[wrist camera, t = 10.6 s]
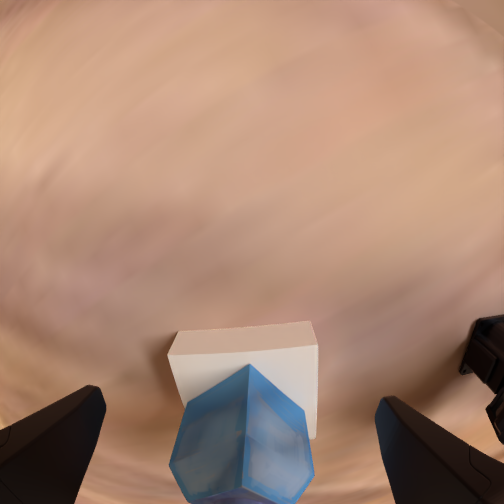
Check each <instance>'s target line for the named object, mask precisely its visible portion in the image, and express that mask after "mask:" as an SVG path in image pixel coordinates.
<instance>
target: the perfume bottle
mask: <svg viewBox="0 0 504 504" xmlns="http://www.w3.org/2000/svg"><path fill="white" fill-rule="evenodd" d="M169 467H170V469H171V471H172V473H173V475H174V477H175V479H176V481H177V483H178V485H179V487H180V489H181V491H182V493H183V495H184V496H185V498H186V500H187V502H189V503H191V504H295V503H296V502H297V500H298V499H299V498H300V496H301V495H302V493H303V492H304V490H305V489H306V488H307V486H308V485H309V483H310V482H311V480H312V479H313V477H314V476H315V475H314V468H313V461H312V455H311V448H310V442H309V435H308V429H307V423H306V416H305V411H304V410H303V409H302V408H301V407H299V406H298V405H297V404H296V403H295V402H293V401H292V400H291V399H290V398H289V397H287V396H286V395H285V394H284V393H283V392H282V391H280V390H279V389H278V388H277V387H276V386H275V385H273V384H272V383H271V382H270V381H269V380H268V379H267V378H265V377H264V376H263V375H262V374H261V373H260V372H259V371H258V370H257V369H255V368H254V367H253V366H252V365H251V364H248V365H247V366H245V367H244V368H242V369H241V370H239V371H238V372H236V373H235V374H233V375H231V376H230V377H228V378H227V379H225V380H224V381H222V382H220V383H219V384H217V385H215V386H214V387H212V388H211V389H209V390H207V391H206V392H204V393H202V394H201V395H199V396H197V397H196V398H194V399H192V400H190V401H189V402H187V405H186V408H185V412H184V415H183V418H182V422H181V425H180V428H179V432H178V435H177V438H176V442H175V445H174V449H173V452H172V455H171V459H170V462H169Z"/></svg>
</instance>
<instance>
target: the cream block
mask: <svg viewBox="0 0 504 504" xmlns="http://www.w3.org/2000/svg"><path fill="white" fill-rule="evenodd" d="M167 356H168V359H169V363H170V366H171V369H172V372H173V376H174V379H175V382H176V385H177V388H178V391H179V394H180V397H181V400H182V403H183V406H184V409H185V408H186V405H187V402H189V401H190V400H192V399H194V398H196V397H197V396H199V395H201V394H202V393H204V392H206V391H207V390H209V389H211V388H212V387H214V386H215V385H217V384H219V383H220V382H222V381H224V380H225V379H227V378H228V377H230V376H231V375H233V374H235V373H236V372H238V371H239V370H241V369H242V368H244V367H245V366H247V365H248V364H251V365H252V366H253V367H254V368H255V369H257V370H258V371H259V372H260V373H261V374H262V375H263V376H264V377H265V378H267V379H268V380H269V381H270V382H271V383H272V384H273V385H275V386H276V387H277V388H278V389H279V390H280V391H282V392H283V393H284V394H285V395H286V396H287V397H289V398H290V399H291V400H292V401H293V402H295V403H296V404H297V405H298V406H299V407H301V408H302V409H303V410H304V411H305V416H306V423H307V429H308V435H309V440H310V439H316V423H317V395H318V343H317V340H316V337H315V334H314V331H313V328H312V325H311V322H310V321H301V322H293V323H283V324H274V325H263V326H252V327H240V328H226V329H210V330H191V331H178V333H177V335H176V338H175V340H174V342H173V344H172V346H171V348H170V350H169V352H168V354H167Z"/></svg>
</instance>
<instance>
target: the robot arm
mask: <svg viewBox="0 0 504 504" xmlns="http://www.w3.org/2000/svg"><path fill="white" fill-rule="evenodd" d="M473 372H474V373H475V374H476V376H477V377H478V378H479V379H480V380H481V381H482V382H483V383H484V384H486V385H487V386H488V387H489V388H490V389H491V390H492V392H493V393H494V394H497V395H496V396H495V398H494V399H493V401H492V402H491V403H490V404H489V405H488V406H487V407H486V409H485V410H486V412H487V414H488V417H489V419H490V421H491V423H492V426H493V428H494V430H495V432H496V435H497V437H498V439H499V441H500V442H501V443H502V444H503V445H504V315H498V316H492V317H486V318H480V319H479V320H478V321H477V323H476V326H475V329H474V332H473V335H472V338H471V341H470V344H469V347H468V349H467V352H466V355H465V357H464V360H463V362H462V365H461V367H460V370H459V373H460V374H461V375H465V374H469V373H473ZM105 413H106V403H105V400H104V398H103V395H102V392H101V389H100V388H99V387H97V386H93V385H87V386H85V387H83V388H81V389H79V390H77V391H75V392H74V393H72V394H70V395H68V396H66V397H64V398H62V399H60V400H59V401H57V402H55V403H53V404H51V405H49V406H47V407H45V408H43V409H41V410H39V411H37V412H36V413H34V414H32V415H30V416H28V417H26V418H24V419H22V420H20V421H18V422H16V423H14V424H12V425H10V426H8V427H6V428H4V429H1V430H0V504H74V503H75V500H76V497H77V494H78V492H79V489H80V486H81V483H82V481H83V478H84V475H85V473H86V470H87V468H88V465H89V463H90V460H91V457H92V455H93V452H94V450H95V447H96V444H97V441H98V437H99V434H100V430H101V427H102V423H103V420H104V416H105ZM375 424H376V429H377V434H378V440H379V445H380V450H381V455H382V460H383V463H384V466H385V470H386V473H387V476H388V479H389V483H390V486H391V490H392V493H393V496H394V500H395V503H396V504H504V463H502V462H500V461H498V460H496V459H493V458H491V457H489V456H488V455H486V454H484V453H482V452H481V451H479V450H477V449H476V448H474V447H472V446H471V445H470V446H469V444H467V443H466V442H464V441H463V440H461V439H459V438H458V437H456V436H455V435H453V434H452V433H450V432H448V431H447V430H445V429H444V428H442V427H441V426H439V425H438V424H436V423H435V422H433V421H431V420H430V419H428V418H427V417H425V416H424V415H422V414H421V413H419V412H418V411H416V410H415V409H413V408H412V407H410V406H409V405H407V404H406V403H404V402H403V401H401V400H400V399H398V398H397V397H395V396H387V397H383V398H382V399H381V400H380V403H379V406H378V408H377V411H376V414H375Z"/></svg>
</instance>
